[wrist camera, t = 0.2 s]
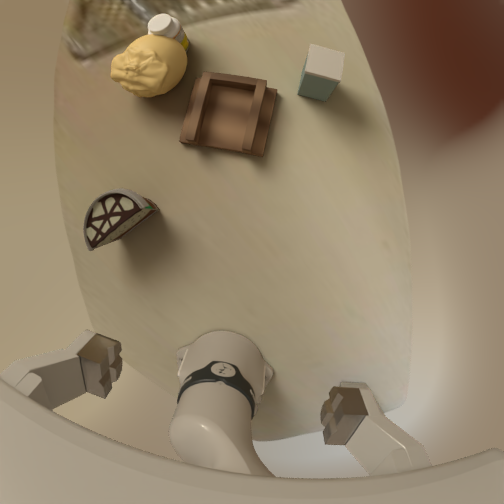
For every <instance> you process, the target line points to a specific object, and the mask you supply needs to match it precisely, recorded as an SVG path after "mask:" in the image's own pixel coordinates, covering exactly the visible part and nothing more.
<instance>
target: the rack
mask: <svg viewBox="0 0 504 504" xmlns="http://www.w3.org/2000/svg"><path fill="white" fill-rule="evenodd" d="M266 85H267V80H262V79H256V78H250V77H244V76H237V75H229V74H221V73H212V72H203V75H202V78H196V80H195V84H194V87H193V91H192V94H191V98H190V101H189V105H188V108H187V112H186V116H185V120H184V124H183V128H182V132H181V136H180V140H179V142H181V143H186V144H192V145H199V146H206V147H212V148H218V149H224V150H229V151H235V152H240V153H246V154H251V155H256V156H261V157H263V153H264V149H265V144H266V139H267V135H268V130H269V126H270V121H271V117H272V112H273V108H274V103H275V99H276V94H277V89H273V88H268V87H266Z"/></svg>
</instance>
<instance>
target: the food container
mask: <svg viewBox="0 0 504 504" xmlns="http://www.w3.org/2000/svg"><path fill="white" fill-rule="evenodd" d="M158 210H160V209H159V208H158V207H157V205H156V204H155V203H153V202H152V201H151V200H149V199H147V198H144V197H141V196H140V195H139V194H137V193H136V192H134V191H132V190H128V189H122V188H119V189H113V190H110V191H108V192H105V193H103V194H101V195H100V196H99V197H97V198H96V199H95V200H94V201H93V203H92V204H91V206H90V207H89V209H88V211H87V213H86V216H85V220H84V228H83V230H84V238H85V242H86V245H87V247H88V250H89V251H92V250H94V249H95V248H98V247H100V246H103V245H105V244H108V243H111V242H113V241H116V240H119V239H121V238H123V237H124V236H125V235H126V234H128V233H129V232H130V231H132V230H133V229H134V228H135V227H137V226H138V225H139V224H141V223H142V222H143V221H145V220H146V219H147V218H149V217H150V216H151V215H153V214H154V213H155V212H157V211H158Z"/></svg>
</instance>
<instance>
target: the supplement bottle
mask: <svg viewBox="0 0 504 504" xmlns="http://www.w3.org/2000/svg"><path fill="white" fill-rule="evenodd" d="M148 29H149V31H148V35H149V34H153V35H164V36H166V37H169V38H172V39H175V40H177V41H178V42H179V43H180V44H181V45H182V46H183V48H184V49H185V51H186V52H187V50H188V48H189V40H188V38H187V36H186V34H185V32H184V30H183V28H182V26H181V24H180V23H179V21H178V20H177V19H176V18H173V17H170V16H169V15H168V14H159V15H157V16H155V17H153V18H152V19H151V20H150V21H149V23H148Z"/></svg>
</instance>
